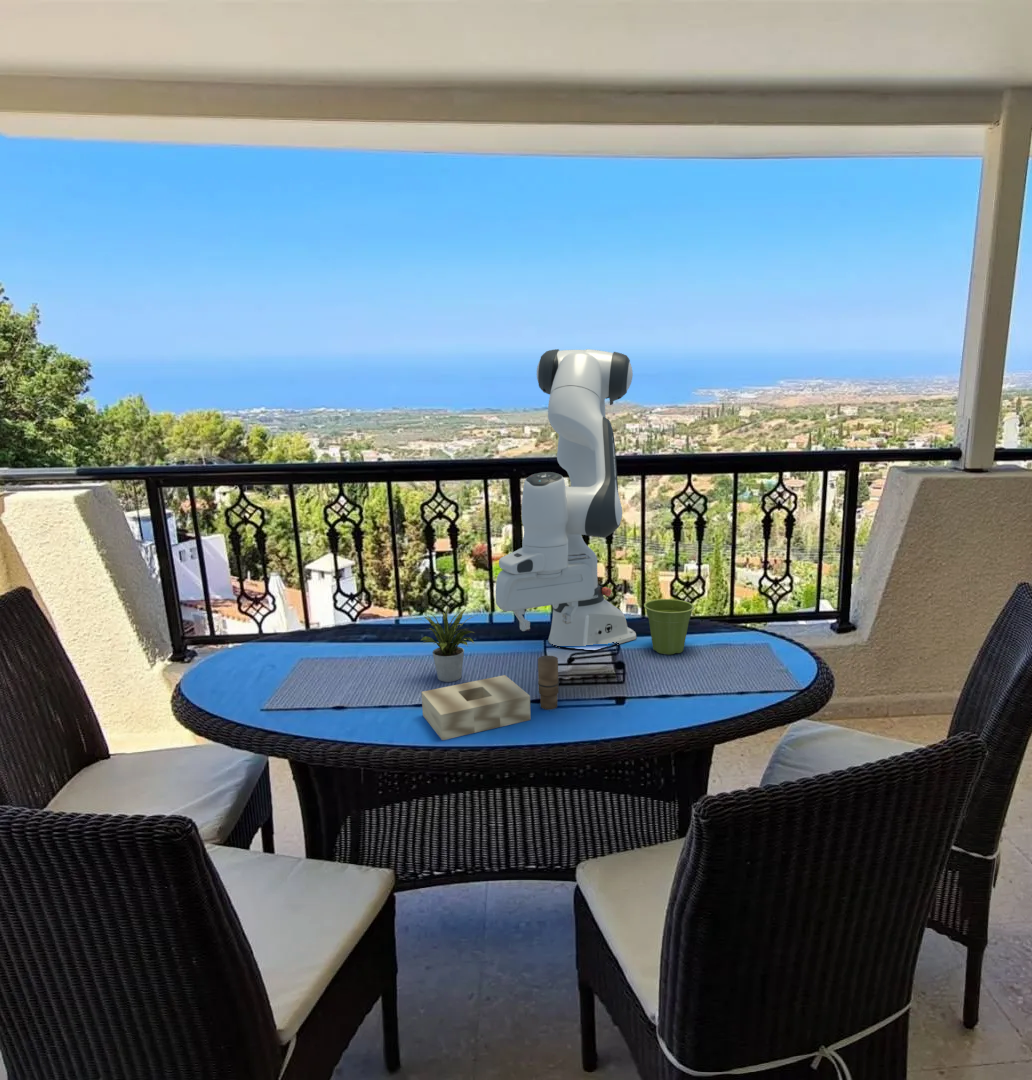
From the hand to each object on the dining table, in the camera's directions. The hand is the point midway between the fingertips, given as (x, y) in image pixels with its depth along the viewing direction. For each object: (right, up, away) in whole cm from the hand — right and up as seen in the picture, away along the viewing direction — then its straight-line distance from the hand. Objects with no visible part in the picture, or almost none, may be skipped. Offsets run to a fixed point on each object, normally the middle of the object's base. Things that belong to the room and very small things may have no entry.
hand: (546, 626), depth 143 cm
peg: (+1, -17, +4) cm, 17 cm away
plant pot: (+31, -10, +33) cm, 46 cm away
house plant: (-22, -14, +20) cm, 33 cm away
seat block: (-14, -18, -1) cm, 23 cm away
